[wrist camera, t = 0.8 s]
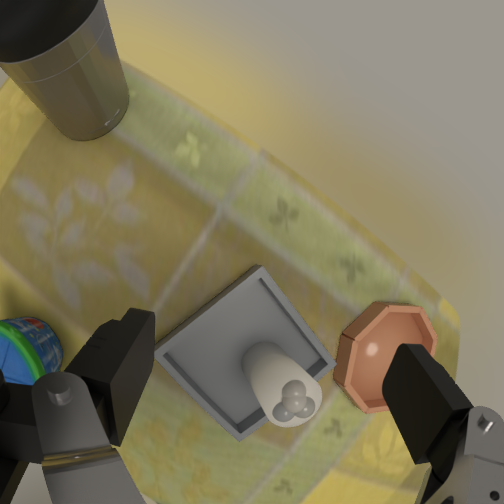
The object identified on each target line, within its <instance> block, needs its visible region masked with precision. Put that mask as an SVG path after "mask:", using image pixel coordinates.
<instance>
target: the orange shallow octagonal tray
mask: <svg viewBox="0 0 504 504" xmlns="http://www.w3.org/2000/svg"><path fill="white" fill-rule="evenodd" d="M342 333H343V335H341V337H340V342H339V348H338V354H337V359H336V363H337V365H336V366H335V369H334V374H333V377H334V380H335V382H336V383H337V384H338V385H339V387H340V388H341V389H342V390H343V392H344V393H345V394H346V395H347V397H348V398H349V399H350V400H351V402H352V403H353V404H354V405H355V406H356V407H358V408H359V409H360V410H361V411H362V412H364V413H366V414H369V413H376V412H382V411H389V408H388V406H387V404H386V402H385V400H384V398H383V395H382V383H383V380H384V377H385V375H386V373H387V371H388V368H389V366H390V364H391V362H392V359H393V357H394V354H395V352H396V350H397V348H398V346H399V345H400V344H402V343H409V344H422V345H423V346H424V347H425V348H426V350H427V351H428V352H429V353H430V355H431V356H432V357H433V358H434V353H435V349H436V344H437V335H436V333H435V331H434V329H433V327H432V325H431V323H430V321H429V319H428V317H427V315H426V313H425V311H424V309H423V308H422V307H420V306H416V305H412V304H406V303H389V302H375V303H374V302H373V303H372V304H371V305H370V306H369V307H368V308H367V309H366V310H365V311H364V312H363V313H362V314H361V315H360V316H359V317H358V318H357V319H356V320H355V321H354V322H353V323H352V324H351V325H349V326H348V327H347V328H346V329H345V330H344V331H343V332H342Z"/></svg>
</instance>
